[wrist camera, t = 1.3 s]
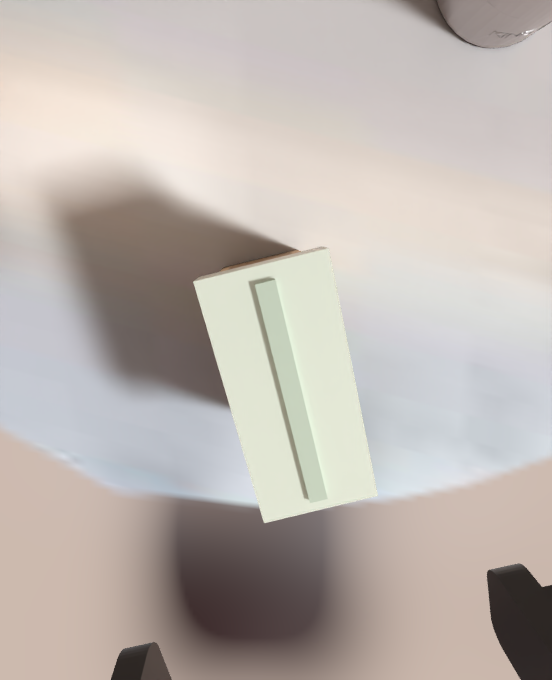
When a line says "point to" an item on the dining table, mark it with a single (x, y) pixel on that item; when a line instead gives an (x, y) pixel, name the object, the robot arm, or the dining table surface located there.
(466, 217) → the dining table surface
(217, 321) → the lid
